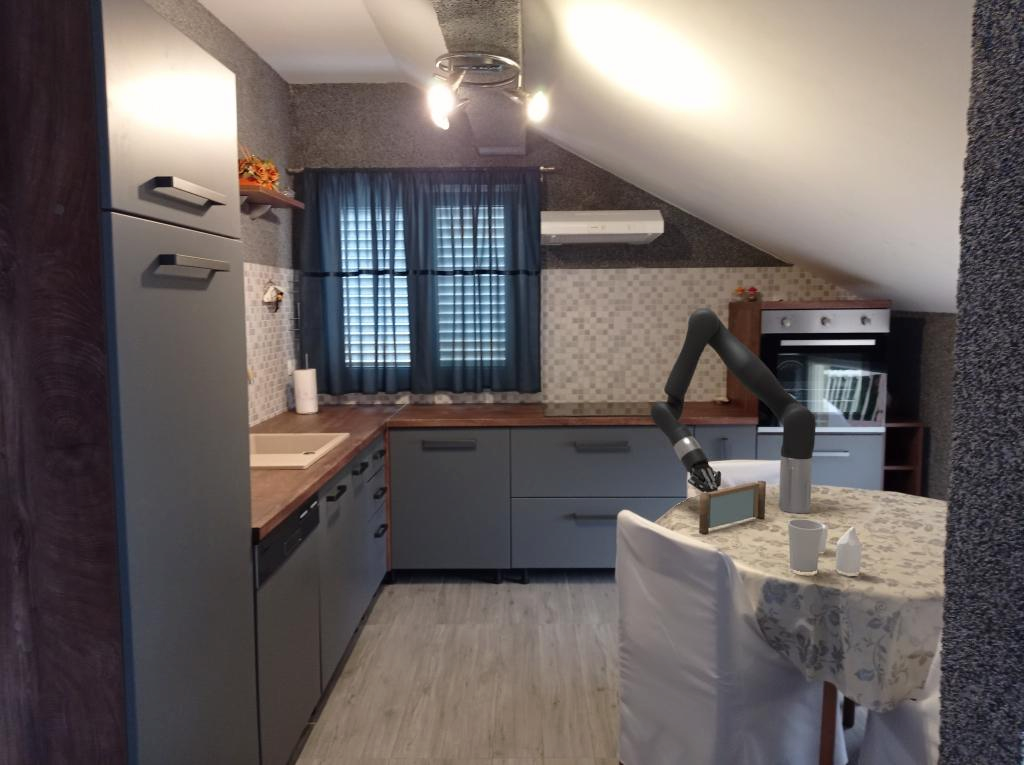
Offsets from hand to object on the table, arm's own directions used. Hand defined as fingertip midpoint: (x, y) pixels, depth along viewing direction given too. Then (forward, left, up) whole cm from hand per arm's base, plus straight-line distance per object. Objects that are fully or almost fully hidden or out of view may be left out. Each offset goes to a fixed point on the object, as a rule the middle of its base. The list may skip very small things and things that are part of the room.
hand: (719, 501), depth 212 cm
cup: (-25, +33, -6) cm, 41 cm away
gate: (-4, +4, -5) cm, 7 cm away
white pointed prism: (-35, +30, -6) cm, 46 cm away
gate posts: (-4, +4, -6) cm, 8 cm away
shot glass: (-27, +17, -6) cm, 32 cm away
